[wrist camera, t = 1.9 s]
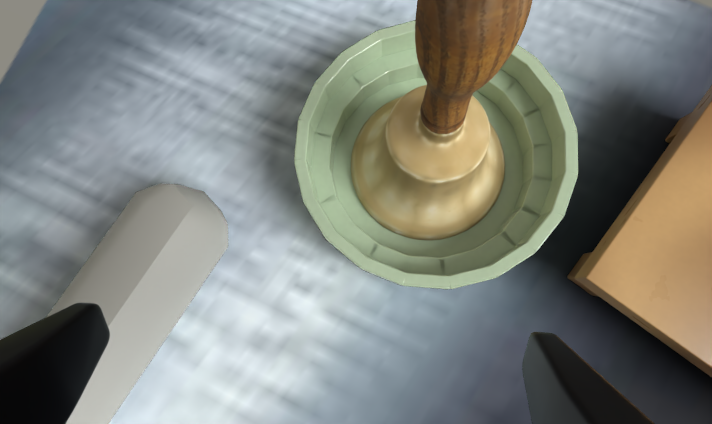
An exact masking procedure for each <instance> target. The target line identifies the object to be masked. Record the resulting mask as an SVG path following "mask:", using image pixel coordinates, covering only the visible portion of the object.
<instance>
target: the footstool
mask: <svg viewBox="0 0 712 424" xmlns="http://www.w3.org/2000/svg"><path fill="white" fill-rule="evenodd" d="M665 141H666V142H667V143H669V146H668V147H667V148H666V150H665V151H664V153H663V154H662V155H661V157H660V158H659V160H658V161H657V162H656V164H655V165H654V167H653V168H652V169H651V171H650V172H649V174H648V175H647V176H646V178H645V179H644V181H643V182H642V183H641V185H640V186H639V188H638V189H637V190H636V192H635V193H634V195H633V196H632V197H631V199H630V200H629V202H628V203H627V204H626V206H625V207H624V209H623V210H622V211H621V213H620V214H619V216H618V217H617V218H616V220H615V221H614V223H613V224H612V225H611V227H610V228H609V230H608V231H607V232H606V234H605V235H604V237H603V238H602V239H601V241H600V242H599V244H598V245H597V246H596V248H595V249H594V251H593V252H590V253H584V254H583V255H582V257H581V258H580V259H579V261H578V262H577V263H576V265H575V266H574V268H573V269H572V270H571V272H570V273H569V275H568V276H567V277H568V279H570V280H571V281H573V282H574V283H575V284H577V285H578V286H579V287H581V288H582V289H584V290H585V291H586V292H588V293H589V294H591V295H592V296H599V297H600V298H602V299H603V300H605V301H606V302H607V303H609V304H610V305H612V306H613V307H614V308H616V309H617V310H619V311H620V312H621V313H623V314H624V315H626V316H627V317H628V318H630V319H631V320H633V321H634V322H635V323H637V324H638V325H639V326H641V327H642V328H644V329H645V330H646V331H648V332H649V333H651V334H652V335H653V336H655V337H656V338H658V339H659V340H660V341H662V342H663V343H665V344H666V345H667V346H669V347H670V348H671V349H673V350H674V351H676V352H677V353H678V354H680V355H681V356H683V357H684V358H685V359H687V360H688V361H690V362H691V363H692V364H694V365H695V366H697V367H698V368H699V369H701V370H702V371H704V372H705V373H706V374H708V375H709V376H710V377H712V85H711V87H710V88H709V90H708V91H707V92H706V94H705V95H704V97H703V98H702V99H701V101H700V102H699V104H698V105H697V106H696V108H695V109H694V111H693V112H691V113H690V114H688V115H686V116H684V117H683V118H681V119H680V120H679V121H678V122H677V124H676V125H675V127H674V128H673V129H672V131H671V132H670V134H669V135H668V136H667V138H666V139H665Z"/></svg>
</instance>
